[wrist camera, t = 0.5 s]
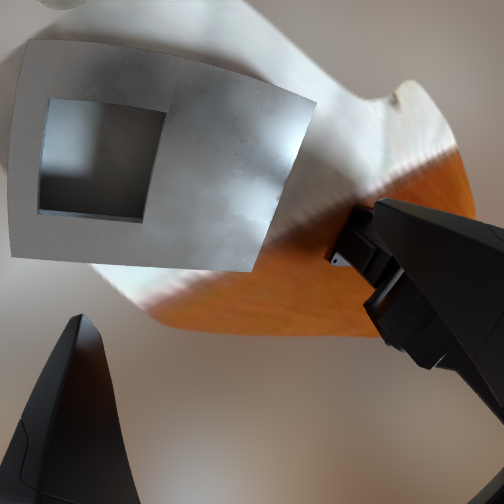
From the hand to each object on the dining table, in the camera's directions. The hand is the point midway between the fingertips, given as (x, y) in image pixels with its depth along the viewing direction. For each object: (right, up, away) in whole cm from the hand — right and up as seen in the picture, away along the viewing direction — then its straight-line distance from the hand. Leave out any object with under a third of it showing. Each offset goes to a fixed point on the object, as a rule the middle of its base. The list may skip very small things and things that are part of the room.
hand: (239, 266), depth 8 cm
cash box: (-6, +7, +9) cm, 13 cm away
